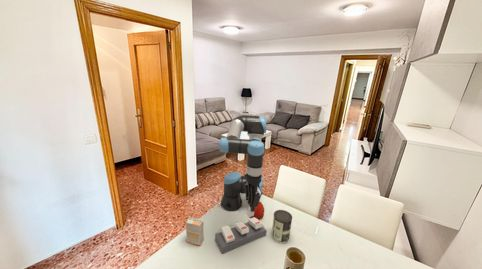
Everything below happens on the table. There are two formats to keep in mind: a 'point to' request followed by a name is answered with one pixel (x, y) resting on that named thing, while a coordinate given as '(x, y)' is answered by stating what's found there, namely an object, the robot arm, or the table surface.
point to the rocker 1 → (227, 234)
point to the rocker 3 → (255, 223)
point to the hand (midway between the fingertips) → (250, 215)
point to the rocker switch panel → (239, 237)
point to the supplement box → (195, 231)
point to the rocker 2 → (241, 227)
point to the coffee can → (281, 226)
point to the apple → (258, 211)
